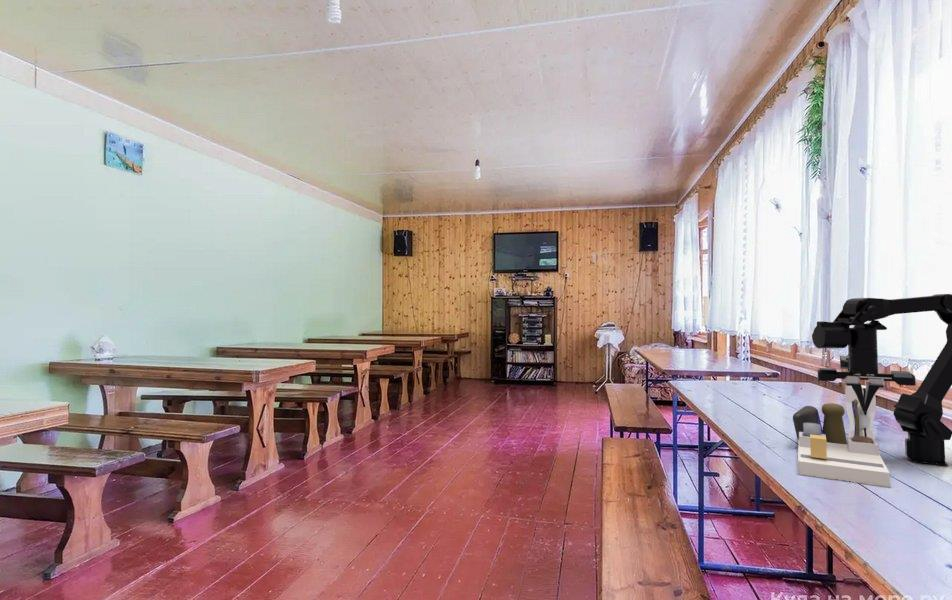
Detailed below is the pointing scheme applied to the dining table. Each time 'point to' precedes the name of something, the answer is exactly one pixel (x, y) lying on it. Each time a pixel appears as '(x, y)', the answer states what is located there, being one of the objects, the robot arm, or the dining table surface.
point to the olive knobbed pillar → (834, 423)
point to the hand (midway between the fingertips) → (864, 411)
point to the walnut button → (862, 439)
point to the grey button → (811, 429)
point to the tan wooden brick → (818, 446)
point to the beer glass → (859, 414)
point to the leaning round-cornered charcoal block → (805, 418)
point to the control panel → (844, 462)
